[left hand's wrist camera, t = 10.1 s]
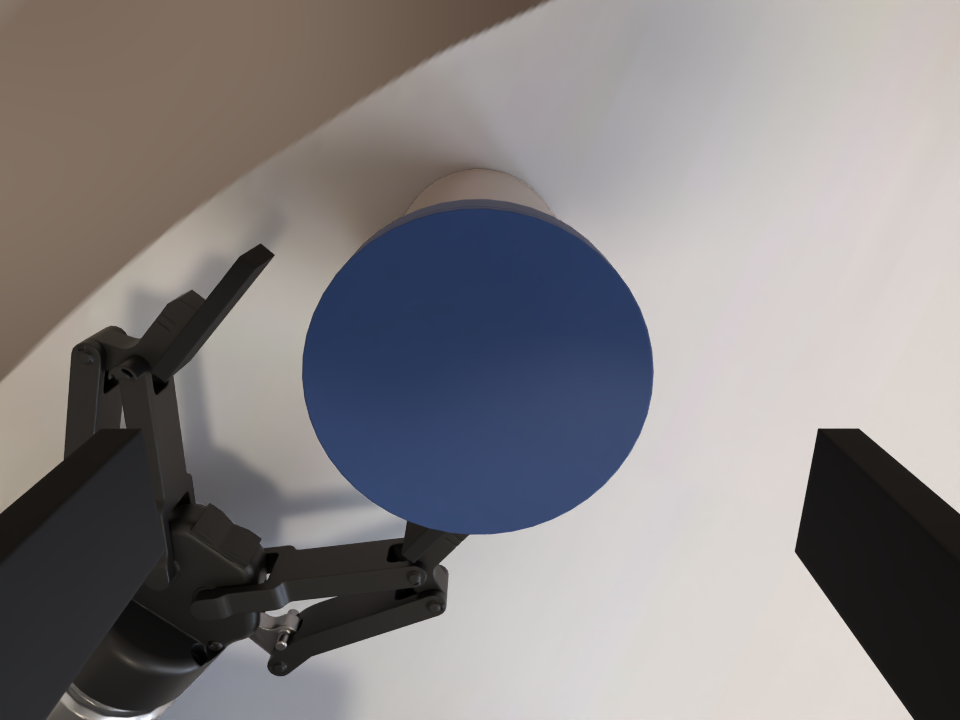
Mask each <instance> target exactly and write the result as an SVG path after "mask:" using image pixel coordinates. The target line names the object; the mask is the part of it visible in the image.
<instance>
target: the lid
mask: <svg viewBox="0 0 960 720" xmlns="http://www.w3.org/2000/svg"><path fill="white" fill-rule="evenodd" d="M653 373H654V371H653V356H652V348H651V343H650V338H649V333H648V329H647V326H646V324H645V321H644V318H643V315H642V313H641V310H640V308H639V306H638V304H637V302H636V300H635V298H634V296H633V295H632V293H631V291H630V289H629V288H628V286H627V285H626V283H625V282H624V281H623V279H622V278H621V277H620V275H619V274H618V273H617V271H616V270H615V269H614V268H613V266H612V265H611V264H610V263H609V262H608V260H607V259H606V258H605V257H604V256H603V255H602V254H601V252H600V251H599V250H598V249H597V248H596V247H595V246H594V245H593V244H592V243H591V242H590V241H589V240H588V239H586V238H585V237H584V236H582V235H581V234H580V233H578V232H577V231H576V230H575V229H573V228H572V227H571V226H569V225H567V224H565V223H564V222H562V221H560V220H558V219H557V218H555V217H553V216H551V215H549V214H546V213H544V212H541V211H539V210H536V209H534V208H531V207H528V206H524V205H520V204H516V203H512V202H507V201H499V200H490V199H463V200H457V201H450V202H443V203H439V204H435V205H432V206H429V207H425V208H422V209H419V210H416V211H414V212H412V213H410V214H408V215H405V216H403V217H401V218H399V219H397V220H395V221H394V222H392V223H391V224H389V225H387V226H386V227H384V228H383V229H381V230H380V231H378V232H377V233H376V234H375V235H374V236H372V237H371V238H370V239H369V240H367V241H366V242H365V243H364V244H363V245H362V246H361V247H360V248H359V249H358V250H357V251H356V253H355V254H354V255H353V256H352V257H351V258H350V259H349V260H348V261H347V263H346V264H345V265H344V266H343V267H342V268H341V270H340V271H339V272H338V273H337V274H336V275H335V277H334V278H333V280H332V281H331V283H330V284H329V286H328V287H327V289H326V290H325V292H324V293H323V295H322V297H321V299H320V301H319V303H318V305H317V307H316V309H315V311H314V313H313V316H312V319H311V322H310V325H309V329H308V332H307V335H306V341H305V347H304V352H303V369H302V380H303V388H304V397H305V402H306V406H307V410H308V414H309V417H310V421H311V423H312V425H313V428H314V430H315V433H316V435H317V438H318V440H319V441H320V443H321V445H322V447H323V448H324V450H325V452H326V454H327V455H328V457H329V458H330V460H331V461H332V462H333V464H334V465H335V466H336V468H337V469H338V470H339V472H340V473H341V474H342V475H343V476H344V477H345V478H346V479H347V480H348V481H349V482H350V483H351V484H352V485H353V486H354V487H355V488H356V489H357V490H358V491H359V492H361V493H362V494H363V495H364V496H366V497H367V498H368V499H369V500H371V501H372V502H374V503H375V504H377V505H378V506H380V507H382V508H383V509H385V510H386V511H388V512H390V513H392V514H394V515H396V516H398V517H400V518H403V519H405V520H407V521H409V522H412V523H415V524H418V525H421V526H424V527H427V528H431V529H435V530H440V531H445V532H450V533H460V534H497V533H505V532H512V531H516V530H521V529H525V528H529V527H533V526H536V525H538V524H541V523H544V522H546V521H549V520H552V519H554V518H556V517H558V516H560V515H562V514H564V513H566V512H568V511H570V510H572V509H573V508H575V507H576V506H578V505H579V504H581V503H582V502H584V501H585V500H587V499H588V498H589V497H591V496H592V495H593V494H594V493H595V492H596V491H598V490H599V489H600V488H601V487H602V486H604V485H605V484H606V482H607V481H608V480H609V479H610V478H611V477H612V476H613V475H614V474H615V473H616V472H617V470H618V469H619V468H620V466H621V465H622V464H623V462H624V461H625V459H626V458H627V457H628V455H629V454H630V452H631V450H632V448H633V447H634V445H635V443H636V441H637V439H638V437H639V435H640V433H641V430H642V428H643V425H644V422H645V419H646V417H647V414H648V409H649V405H650V400H651V396H652V386H653Z"/></svg>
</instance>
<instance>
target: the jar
mask: <svg viewBox="0 0 960 720" xmlns="http://www.w3.org/2000/svg"><path fill="white" fill-rule="evenodd" d="M463 199H490V200H499V201H507V202H512V203H516V204H520V205H524V206H528V207H531V208H534V209H536V210H539V211H541V212H544V213H546V214H549V215H551V216H553V217H555V216H554V214H553V213H552V211H551V210H550V209H549V207H548V206H547V204H546V203H545V202H544V200H543V199H542V198H541V197H540V196H539V195H538V194H537V193H536V192H535V191H534V190H533V189H532V188H531V187H530V186H528V185H527V184H526V183H524V182H522V181H521V180H519V179H517V178H516V177H513V176H511V175H508V174H506V173H503V172H499V171H495V170H487V169H470V170H464V171H459V172H456V173H452V174H449V175H447V176H445V177H443V178H441V179H439V180H437V181H436V182H434V183H432V184H431V185H430V186H428V187H427V188H426V189H425V190H424V191H422V192H421V194H420V195H419V196H418V197H417V198H416V199H415V200H414V202H413V203H412V204H411V206H410V207H409V209H408V210H407V211H406V213H405V214H404V216H405V215H408V214H410V213H412V212H414V211H416V210H419V209H422V208H425V207H429V206H432V205H435V204H439V203H443V202H450V201H457V200H463ZM555 218H556V217H555Z"/></svg>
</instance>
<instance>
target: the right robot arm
mask: <svg viewBox="0 0 960 720" xmlns="http://www.w3.org/2000/svg"><path fill="white" fill-rule="evenodd" d="M274 256H275V255H274V254H273V253H272V252H270V251H269V250H268V249H267V248H266V247H264V246H263V245H262V244H259V245H257V246H256V247H254V248H253V249H251V250H249V251H248V252H246V253H244V254H243V255H241V256H240V257H239V258H238V259H237V261H236V262H235V263H234V264H233V266H232V267H231V268H230V270H229V271H228V272H227V273H226V275H225V276H224V277H223V279H222V280H221V281H220V282H219V284H218V285H217V286H216V287H215V289H214V290H213V291H212V293H211V294H210V295H209V296H208V298H207V299H206V300H205V299H204V298H202V297H201V296H200V295H198V294H197V293H196V292H195V291H193V290H191V291H189V292H187V293H185V294H183V295H181V296H179V297H178V298H176V299H175V300H173V301H171V302H170V303H168V304H167V305H166V307H165V308H164V309H163V311H162V312H161V314H160V315H159V316H158V317H157V319H156V320H155V321H154V323H153V324H152V325H151V326H150V328H149V329H148V330H147V332H146V333H145V334H144V336H143V337H142V338H141V339H137V338H133V337H130V336H127V334H126V332H125V331H124V330H123V329H121V328H119V327H117V326H109V327H106V328H105V329H103V330H101V331H99V332H98V333H96V334H94V335H93V336H91V337H89V338H87V339H86V340H84V341H82V342H81V343H79V344H77V345H76V346H75V347H74V348H73V350H72V353H71V367H70V381H69V395H68V409H67V423H66V437H65V450H64V460H65V459H66V458H67V457H68V456H69V455H71V454H72V453H73V452H74V451H75V450H77V449H78V448H79V447H80V446H81V445H82V444H84V443H85V442H86V441H87V440H88V439H90V438H91V437H92V436H93V435H94V434H95V433H97V432H98V431H99V430H100V429H120V422H121V412H122V405H123V411H124V417H125V423H126V429H142V432H143V437H144V443H145V448H146V453H147V458H148V464H149V469H150V474H151V479H152V485H153V490H154V495H155V501H156V506H157V511H158V516H159V522H160V527H161V532H162V537H163V543H164V548H165V553H164V554H163V555H162V557H161V558H160V560H159V561H158V562H157V564H156V565H155V567H154V568H153V570H152V571H151V572H150V574H149V575H148V577H147V578H146V579H145V581H144V582H143V584H142V585H141V586H140V588H139V589H138V591H137V592H136V593H135V595H134V596H133V598H132V599H131V601H130V602H129V603H128V605H127V606H126V608H125V609H124V610H123V612H122V613H121V615H120V616H119V617H118V619H117V620H116V622H115V623H114V624H113V626H112V627H111V629H110V630H109V632H108V633H107V634H106V636H105V637H104V639H103V640H102V641H101V643H100V644H99V646H98V647H97V648H96V650H95V651H94V653H93V654H92V655H91V657H90V658H89V660H88V661H87V662H86V664H85V665H84V667H83V668H82V670H81V671H80V672H79V674H78V675H77V677H76V678H75V679H74V681H73V682H72V684H71V685H70V686H69V688H68V689H67V691H66V692H65V693H64V695H63V696H62V698H61V699H60V701H59V702H58V703H57V705H56V706H55V708H54V709H53V710H52V712H51V713H50V715H49V716H48V717H47V719H46V720H157V719H158V718H159V717H160V716H161V715H162V714H163V713H164V712H165V711H166V710H167V709H168V708H169V707H170V706H171V705H172V704H173V702H174V701H175V699H176V698H177V697H178V696H180V695H181V694H182V693H183V692H184V691H185V690H186V689H187V688H188V687H189V686H190V685H191V684H192V683H193V681H194V680H195V679H196V678H197V677H198V676H199V675H200V674H201V673H202V672H203V671H204V670H205V669H206V668H207V667H208V666H209V665H210V664H211V663H212V662H213V661H214V660H215V659H216V658H217V657H218V656H219V655H220V654H221V653H222V651H223V650H224V649H225V648H226V647H227V646H228V645H230V644H231V643H233V642H236V641H239V640H242V639H246V638H248V637H249V638H250V639H251V640H253V641H254V642H255V643H256V644H258V645H259V646H260V647H261V648H263V649H264V650H265V651H266V652H268V653H269V654H270V655H271V656H270V659H269V661H268V665H267V667H268V670H269V671H270V672H271V673H272V674H274V675H276V676H285V675H287V674H289V673H290V672H291V671H293V670H294V669H295V668H297V667H298V666H299V665H301V664H302V663H303V662H305V661H306V660H307V659H309V658H310V657H311V656H314V655H317V654H321V653H324V652H327V651H330V650H333V649H336V648H339V647H342V646H345V645H349V644H352V643H355V642H358V641H361V640H364V639H367V638H370V637H373V636H376V635H380V634H383V633H386V632H389V631H392V630H395V629H398V628H401V627H404V626H408V625H411V624H414V623H417V622H420V621H423V620H426V619H429V618H432V617H435V616H439V615H441V614H442V613H443V612H444V611H445V610H446V603H447V589H448V570H447V569H446V568H445V567H444V566H442V565H439V563H440V562H441V561H442V560H443V559H444V558H445V557H446V556H447V555H448V554H449V553H451V552H452V551H453V550H454V549H455V548H456V546H458V545H459V544H460V543H461V542H462V541H463V540H464V539H465V538H466V537H467V536H468V535H469V534H460V533H450V532H445V531H440V530H435V529H431V528H427V527H424V526H421V525H418V524H415V523H412V522H409V521H407V526H406V531H405V537H404V538H397V539H389V540H380V541H372V542H363V543H355V544H346V545H337V546H329V547H320V548H312V549H303V550H296V549H295V547H294V546H281V547H272V548H264V549H263V548H262V546H261V545H260V544H259V543H260V541H261V538H260V537H258V536H257V535H255V534H254V533H253V532H251V531H250V530H248V529H245V528H243V527H240V526H238V525H235V524H233V523H232V522H231V520H230V519H229V518H228V517H227V516H226V515H225V514H224V513H223V512H222V511H221V510H219V509H218V508H216V507H215V506H214V505H212V504H211V503H209V504H208V506H207V507H206V506H203V505H199V504H195V497H194V489H193V482H192V476H191V475H190V474H187V472H186V466H185V458H184V451H183V444H182V436H181V429H180V422H179V414H178V407H177V400H176V392H175V385H174V378H173V375H174V374H175V373H177V372H178V371H179V370H180V369H181V368H182V367H184V366H185V365H186V364H187V363H188V362H189V361H190V360H191V359H192V358H193V357H194V356H195V354H196V353H197V352H198V351H199V349H200V348H201V347H202V346H203V344H204V343H205V342H206V341H207V339H208V338H209V337H210V336H211V334H212V333H213V332H214V331H215V329H216V328H217V327H218V326H219V324H220V323H221V322H222V321H223V319H224V318H225V317H226V316H227V314H228V313H229V312H230V311H231V309H232V308H233V307H234V306H235V304H236V303H237V302H238V301H239V299H240V298H241V297H242V296H243V294H244V293H245V292H246V291H247V289H248V288H249V287H250V286H251V284H252V283H253V282H254V281H255V279H256V278H257V277H258V276H259V274H260V273H261V272H262V271H263V269H264V268H265V267H266V266H267V264H268V263H269V262H270V261H271V259H272V258H273V257H274ZM269 573H270V576H269V578H268V580H267V581H266V574H269ZM335 596H338V597H335ZM326 597H335V598H332V599H329V600H326V601H323V602H320V603H317V604H315V605H312V606H310V607H308V608H306V609H305V610H303V611H302V612H300V613H299V612H298V611H297V610H295V609H291V610H289V611H288V613H287V614H285V615H282V616H280V617H272V616H269V615H267V614H266V613H265V611H272V610H277V609H280V608H282V607H284V606H285V605H286V604H287V603H289V602H292V601H299V600H308V599H317V598H326Z"/></svg>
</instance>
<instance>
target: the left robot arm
mask: <svg viewBox="0 0 960 720" xmlns="http://www.w3.org/2000/svg"><path fill="white" fill-rule="evenodd" d="M164 553H165V548H164V543H163V537H162V532H161V527H160V522H159V516H158V511H157V506H156V501H155V495H154V490H153V485H152V479H151V474H150V469H149V464H148V458H147V453H146V448H145V443H144V437H143V432H142V429H100V430H99V431H98V432H97V433H95V434H94V435H93V436H92V437H91V438H90V439H88V440H87V441H86V442H85V443H84V444H82V445H81V446H80V447H79V448H78V449H77V450H75V451H74V452H73V453H72V454H71V455H69V456H68V457H67V458H66V459H65V460H64V461H62V462H61V463H60V464H59V465H58V466H56V467H55V468H54V469H53V470H52V471H51V472H49V473H48V474H47V475H46V476H45V477H43V478H42V479H41V480H40V481H39V482H38V483H36V484H35V485H34V486H33V487H32V488H30V489H29V490H28V491H27V492H26V493H25V494H23V495H22V496H21V497H20V498H19V499H17V500H16V501H15V502H14V503H13V504H12V505H10V506H9V507H8V508H7V509H6V510H4V511H3V512H2V513H1V514H0V720H46V719H47V717H48V716H49V715H50V713H51V712H52V710H53V709H54V708H55V706H56V705H57V703H58V702H59V701H60V699H61V698H62V696H63V695H64V693H65V692H66V691H67V689H68V688H69V686H70V685H71V684H72V682H73V681H74V679H75V678H76V677H77V675H78V674H79V672H80V671H81V670H82V668H83V667H84V665H85V664H86V662H87V661H88V660H89V658H90V657H91V655H92V654H93V653H94V651H95V650H96V648H97V647H98V646H99V644H100V643H101V641H102V640H103V639H104V637H105V636H106V634H107V633H108V632H109V630H110V629H111V627H112V626H113V624H114V623H115V622H116V620H117V619H118V617H119V616H120V615H121V613H122V612H123V610H124V609H125V608H126V606H127V605H128V603H129V602H130V601H131V599H132V598H133V596H134V595H135V593H136V592H137V591H138V589H139V588H140V586H141V585H142V584H143V582H144V581H145V579H146V578H147V577H148V575H149V574H150V572H151V571H152V570H153V568H154V567H155V565H156V564H157V562H158V561H159V560H160V558H161V557H162V555H163V554H164ZM795 553H796V554H797V555H798V557H799V558H800V560H801V561H802V562H803V564H804V565H805V567H806V568H807V570H808V571H809V572H810V574H811V575H812V577H813V578H814V579H815V581H816V582H817V584H818V585H819V586H820V588H821V589H822V591H823V592H824V593H825V595H826V596H827V598H828V599H829V601H830V602H831V603H832V605H833V606H834V608H835V609H836V610H837V612H838V613H839V615H840V616H841V617H842V619H843V620H844V622H845V623H846V624H847V626H848V627H849V629H850V630H851V632H852V633H853V634H854V636H855V637H856V639H857V640H858V641H859V643H860V644H861V646H862V647H863V648H864V650H865V651H866V653H867V654H868V655H869V657H870V658H871V660H872V661H873V662H874V664H875V665H876V667H877V668H878V670H879V671H880V672H881V674H882V675H883V677H884V678H885V679H886V681H887V682H888V684H889V685H890V686H891V688H892V689H893V691H894V692H895V693H896V695H897V696H898V698H899V699H900V701H901V702H902V703H903V705H904V706H905V708H906V709H907V710H908V712H909V713H910V715H911V716H912V717H913V719H914V720H960V514H959V513H958V512H957V511H956V510H954V509H953V508H952V507H951V506H950V505H948V504H947V503H946V502H945V501H944V500H943V499H941V498H940V497H939V496H938V495H937V494H935V493H934V492H933V491H932V490H931V489H930V488H928V487H927V486H926V485H925V484H924V483H922V482H921V481H920V480H919V479H918V478H917V477H915V476H914V475H913V474H912V473H911V472H909V471H908V470H907V469H906V468H905V467H904V466H902V465H901V464H900V463H899V462H898V461H896V460H895V459H894V458H893V457H892V456H891V455H889V454H888V453H887V452H886V451H885V450H883V449H882V448H881V447H880V446H879V445H878V444H876V443H875V442H874V441H873V440H872V439H870V438H869V437H868V436H867V435H866V434H865V433H863V432H862V431H861V430H860V429H818V432H817V437H816V443H815V448H814V453H813V458H812V464H811V469H810V474H809V479H808V485H807V490H806V495H805V500H804V506H803V511H802V516H801V522H800V527H799V532H798V537H797V543H796V548H795Z"/></svg>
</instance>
